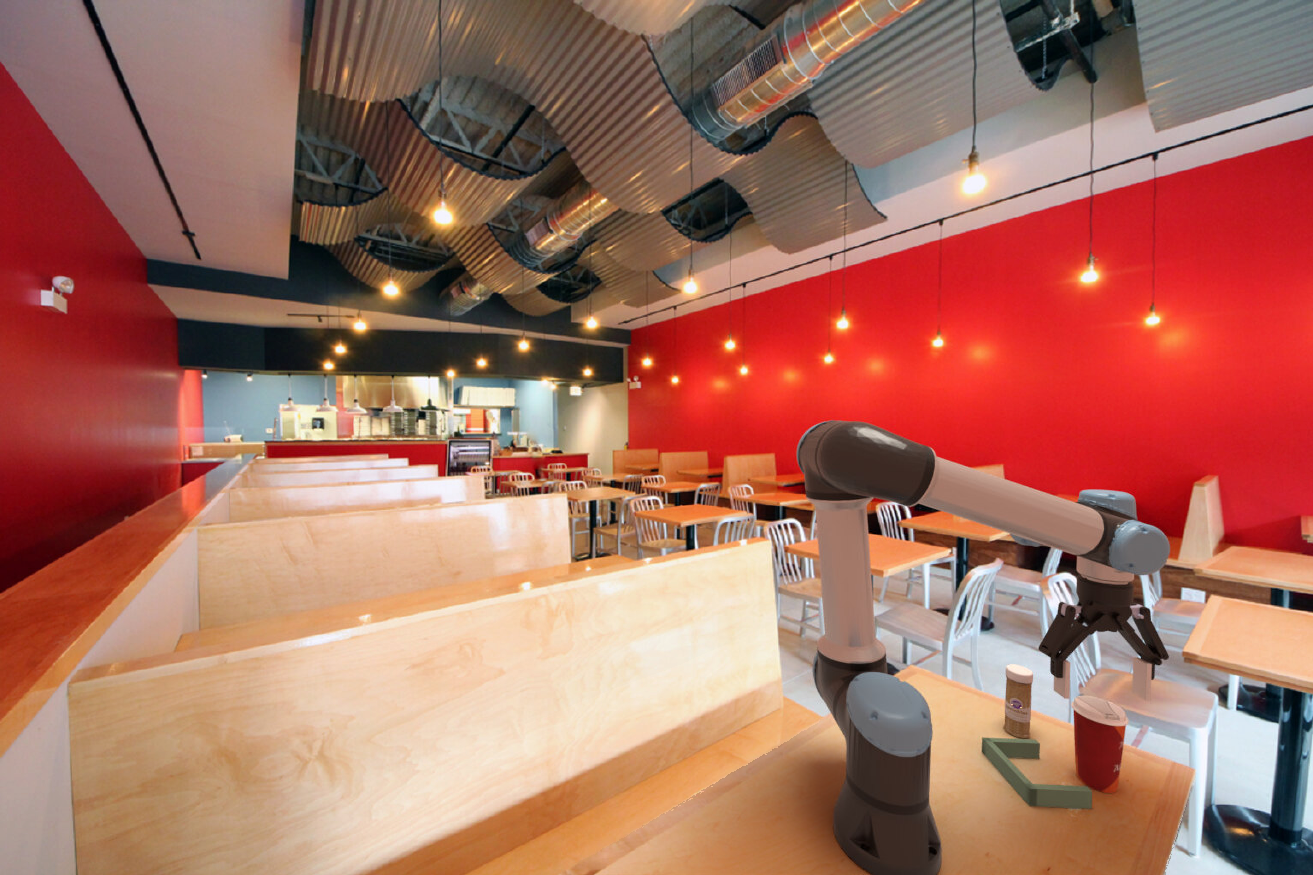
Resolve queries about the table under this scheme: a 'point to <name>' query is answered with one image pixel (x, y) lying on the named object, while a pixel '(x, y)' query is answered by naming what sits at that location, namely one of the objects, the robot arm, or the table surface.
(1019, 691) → the sprinkles bottle
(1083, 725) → the paper cup
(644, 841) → the table surface
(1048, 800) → the green pocket
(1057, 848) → the table surface
